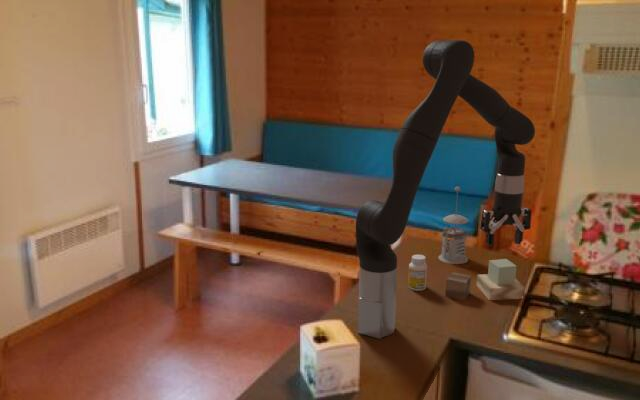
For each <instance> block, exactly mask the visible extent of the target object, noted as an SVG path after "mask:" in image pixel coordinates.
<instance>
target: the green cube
mask: <svg viewBox="0 0 640 400" xmlns="http://www.w3.org/2000/svg"><path fill="white" fill-rule="evenodd" d="M487 271H488V272H487V274H488V279H490V280H491V281H492V282H494V283H495V284H496V285H497V286H498V285H507V284H515V279H516V275H517V265H516V264H514V263H513V262H512V261H510V260H509V259H507V258H500V259H490V260H488V270H487Z"/></svg>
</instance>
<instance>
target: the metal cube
mask: <svg viewBox="0 0 640 400" xmlns="http://www.w3.org/2000/svg"><path fill="white" fill-rule="evenodd" d="M471 280H472V275H468V274H464V273H463V274H462V273H458V272H454V271H453V272H451V273H450V274H449V275H448V277H447V278H446V282H445V297H447V298H451V299H456V300H460V301H466V299H467V298H468V297H469V295H470V294H471V287H472V281H471Z"/></svg>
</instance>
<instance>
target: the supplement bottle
mask: <svg viewBox="0 0 640 400" xmlns="http://www.w3.org/2000/svg"><path fill="white" fill-rule="evenodd" d="M407 277H408V280H407V281H408V283H407V285H408V288H409V290H412V291H419V292H420V291H425V290H426V289H427V285H428V284H427V281H428V280H427V279H428V265H427V263H426V256H425V255H423V254H413V255H412V256H411V262H409V264H408V276H407Z"/></svg>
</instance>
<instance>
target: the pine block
mask: <svg viewBox="0 0 640 400" xmlns="http://www.w3.org/2000/svg"><path fill="white" fill-rule="evenodd" d="M476 287H478V289H479V290H480V292H481V293H482V294H484V296H485V297H486V298H487V299H488V301H499V300H500V301H502V300H520V299H521V297H522V296H523V295H524V294H525V286H524V285H523V284H522V283H521V282H520V281H518V279H517V278H515V284H507V285H498V286H497V285H496V284H495V283H494V282H492V281H491V280H490V279H488V273H486V274H485V273H484V274H477V277H476ZM523 297H524V296H523Z"/></svg>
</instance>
